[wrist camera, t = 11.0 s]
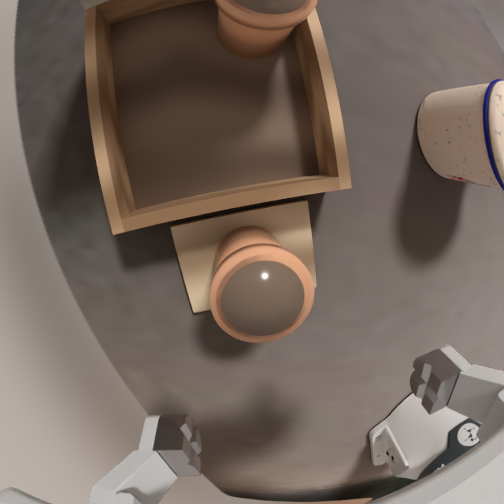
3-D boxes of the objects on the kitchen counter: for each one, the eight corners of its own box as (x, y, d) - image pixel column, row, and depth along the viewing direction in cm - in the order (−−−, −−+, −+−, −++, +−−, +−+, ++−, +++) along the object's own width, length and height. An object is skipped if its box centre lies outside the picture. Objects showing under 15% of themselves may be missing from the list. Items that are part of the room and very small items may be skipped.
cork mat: (314, 283, 23) (316, 286, 22) (194, 309, 22) (193, 312, 22) (305, 199, 21) (307, 200, 20) (171, 225, 20) (170, 227, 19)
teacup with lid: (434, 196, 22) (533, 227, 11) (397, 106, 19) (505, 90, 8) (491, 150, 21) (570, 163, 10) (463, 75, 18) (546, 64, 7)
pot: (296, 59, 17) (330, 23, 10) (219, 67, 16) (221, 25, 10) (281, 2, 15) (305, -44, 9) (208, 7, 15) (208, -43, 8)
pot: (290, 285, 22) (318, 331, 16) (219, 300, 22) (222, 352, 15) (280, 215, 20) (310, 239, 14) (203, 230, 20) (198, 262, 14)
